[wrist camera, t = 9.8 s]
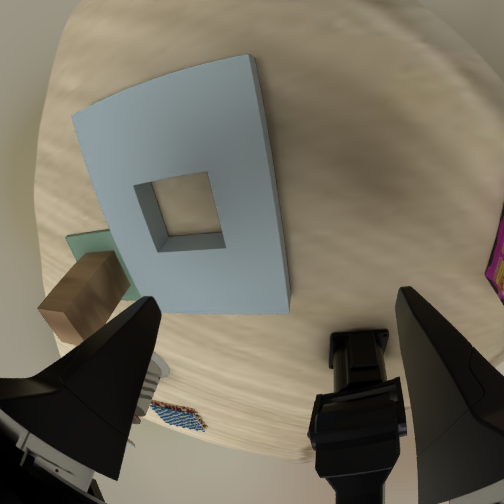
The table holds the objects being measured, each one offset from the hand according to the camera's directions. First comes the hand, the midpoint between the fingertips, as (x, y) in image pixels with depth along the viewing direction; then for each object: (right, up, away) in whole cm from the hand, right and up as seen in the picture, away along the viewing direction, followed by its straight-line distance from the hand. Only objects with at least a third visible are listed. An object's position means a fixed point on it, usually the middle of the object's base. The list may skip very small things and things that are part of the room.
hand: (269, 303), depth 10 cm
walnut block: (-16, 0, +18) cm, 24 cm away
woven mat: (-16, -32, +41) cm, 54 cm away
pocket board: (-6, +6, +12) cm, 15 cm away
